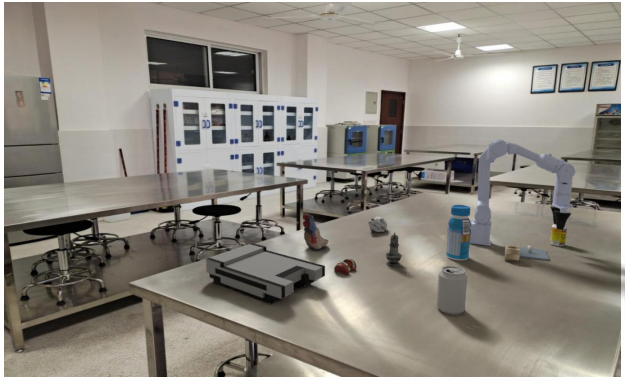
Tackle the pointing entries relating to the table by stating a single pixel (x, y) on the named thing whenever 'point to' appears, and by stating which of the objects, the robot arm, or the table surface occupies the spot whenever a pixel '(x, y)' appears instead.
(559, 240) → the supplement bottle
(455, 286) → the can
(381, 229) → the grey lumpy stone
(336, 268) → the pair of red halves
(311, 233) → the rooster figurine
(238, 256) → the game console
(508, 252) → the sleeve
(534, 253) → the pin plate
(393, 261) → the stone pagoda statue
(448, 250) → the beverage bottle
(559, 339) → the table surface
